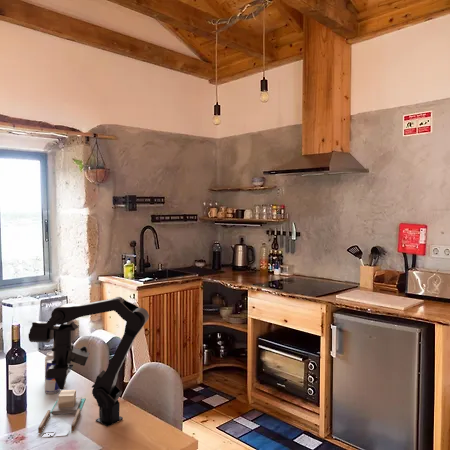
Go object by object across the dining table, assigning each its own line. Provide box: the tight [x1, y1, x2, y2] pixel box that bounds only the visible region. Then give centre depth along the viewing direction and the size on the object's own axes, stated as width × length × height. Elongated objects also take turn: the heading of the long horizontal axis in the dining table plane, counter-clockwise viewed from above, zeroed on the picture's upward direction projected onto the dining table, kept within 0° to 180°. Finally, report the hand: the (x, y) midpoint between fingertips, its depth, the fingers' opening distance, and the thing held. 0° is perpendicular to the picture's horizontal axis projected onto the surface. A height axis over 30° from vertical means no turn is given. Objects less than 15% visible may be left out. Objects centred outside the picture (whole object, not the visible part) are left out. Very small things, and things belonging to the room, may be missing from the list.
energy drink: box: [44, 359, 61, 395], centre depth 162 cm, size 5×5×12 cm
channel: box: [37, 408, 82, 438], centre depth 136 cm, size 14×11×2 cm
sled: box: [51, 389, 83, 415], centre depth 148 cm, size 10×8×5 cm
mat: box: [50, 398, 86, 414], centre depth 150 cm, size 10×10×1 cm
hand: (61, 389), depth 140 cm, fingers closed
